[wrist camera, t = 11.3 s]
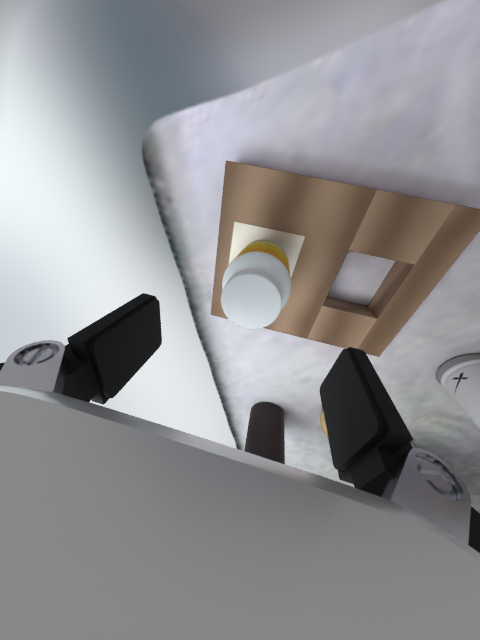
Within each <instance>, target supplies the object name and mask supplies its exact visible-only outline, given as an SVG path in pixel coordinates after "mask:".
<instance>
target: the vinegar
mask: <svg viewBox="0 0 480 640" xmlns="http://www.w3.org/2000/svg"><path fill="white" fill-rule="evenodd" d="M245 452H248V453H251V454H254V455H257V456H260V457H263V458H266V459H269V460H272V461H275V462H279V463H282V464H285V453H284V413H283V411H282V410H281V409H280V408H279V407H278V406H276V405H274V404H271V403H258V404H256V405H254V406H253V407H252V408H251V412H250V419H249V425H248V432H247V438H246V445H245Z"/></svg>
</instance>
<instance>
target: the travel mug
mask: <svg viewBox="0 0 480 640" xmlns="http://www.w3.org/2000/svg"><path fill="white" fill-rule="evenodd" d="M436 379H437V381H438V382H439V383H440V384H441V385H442V387H443V388H444V389H445V390H446V391H447V392H448V393H449V395H450V396H451V397H452V398H453V399H454V400H455V401H456V403H457V404H458V405H459V406H460V407H461V408H462V410H463V411H464V412H465V413H466V414H467V415H468V416H469V418H470V419H471V420H472V421H473V422H474V423H475V424H476V426H477V427H478V428H479V429H480V355H479V354H471V355H463V356H459V357H456V358H453V359H451V360H449V361H447V362H445V363H444V364H443V365H441V366H440V368H439V369H438V370H437V373H436Z"/></svg>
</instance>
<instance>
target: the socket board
mask: <svg viewBox="0 0 480 640" xmlns="http://www.w3.org/2000/svg"><path fill="white" fill-rule="evenodd" d="M479 231H480V209H476V208H471V207H466V206H460V205H455V204H450V203H445V202H440V201H434V200H429V199H424V198H419V197H414V196H408V195H403V194H398V193H393V192H387V191H382V190H377V189H372V188H367V187H361V186H356V185H351V184H346V183H341V182H335V181H330V180H325V179H320V178H315V177H309V176H304V175H299V174H294V173H288V172H283V171H278V170H273V169H268V168H262V167H257V166H252V165H247V164H242V163H236V162H231V161H226V165H225V175H224V186H223V196H222V206H221V216H220V226H219V236H218V247H217V257H216V267H215V277H214V287H213V297H212V308H211V315H214V316H218V317H222V318H226V319H229V318H228V317H227V316H226V315H225V313H224V311H223V309H222V305H221V295H222V291H223V290H222V281H223V276H224V273H225V271H226V269H227V267H228V266H229V264H230V263H231V262H232V261H233V260H234V259H235V258H236V257H237V255H238V254H239V253H240V252H241V251H242V250H243V249H244V248H245V247H246V246H247V245H248V244H250V243H251V242H253V241H256V240H262V239H265V240H271V241H273V242H275V243H277V244H278V245H280V246H281V247H282V249H283V250H284V251H285V253H286V255H287V258H288V262H289V270H290V278H291V293H290V296H289V299H288V301H287V303H286V304H285V306H284V307H283V308H282V309H281V311H280V313H279V315H278V317H277V318H276V320H275V321H274V322H273V323H271V324H270V325H268V326H266V327H263V328H266V329H270V330H274V331H278V332H282V333H286V334H290V335H294V336H298V337H302V338H306V339H310V340H314V341H318V342H322V343H326V344H330V345H334V346H338V347H342V348H346V349H347V348H349V347H353V348H357V349H360V350H363V351H364V352H365V353H366V354H370V355H374V356H378V357H379V356H380V355H381V354H382V352H383V351H384V350H385V349H386V347H387V346H388V345H389V344H390V342H391V341H392V340H393V339H394V337H395V336H396V335H397V334H398V332H399V331H400V330H401V329H402V327H403V326H404V325H405V324H406V322H407V321H408V320H409V319H410V317H411V316H412V315H413V313H414V312H415V311H416V310H417V308H418V307H419V306H420V305H421V303H422V302H423V301H424V300H425V298H426V297H427V296H428V295H429V293H430V292H431V291H432V290H433V288H434V287H435V286H436V285H437V283H438V282H439V281H440V280H441V278H442V277H443V276H444V275H445V273H446V272H447V271H448V270H449V268H450V267H451V266H452V264H453V263H454V262H455V261H456V259H457V258H458V257H459V256H460V254H461V253H462V252H463V251H464V249H465V248H466V247H467V246H468V244H469V243H470V242H471V241H472V239H473V238H474V237H475V236H476V234H477V233H478V232H479ZM348 250H349V251H353V252H358V253H363V254H367V255H372V256H377V257H381V258H386V259H391V260H395V261H396V262H395V263H394V265H393V267H392V268H391V270H390V271H389V273H388V275H387V276H386V278H385V279H384V281H383V283H382V284H381V286H380V287H379V289H378V291H377V292H376V294H375V295H374V297H373V299H372V300H371V302H370V303H369V305H368V307H367V306H363V305H358V304H354V303H350V302H346V301H341V300H337V299H333V298H328V297H327V295H328V293H329V291H330V289H331V287H332V284H333V282H334V280H335V278H336V276H337V274H338V272H339V270H340V267H341V265H342V263H343V261H344V259H345V257H346V255H347V253H348Z"/></svg>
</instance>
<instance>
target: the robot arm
mask: <svg viewBox="0 0 480 640" xmlns="http://www.w3.org/2000/svg"><path fill="white" fill-rule="evenodd" d="M68 342H69V344H68V345H66V346H64V345H63V344H62V343H61V342H58V341H51V340H48V341H40V342H35V343H32V344H29V345H26V346H24V347H21V348H19V349H18V350H16V351H15V352H13V353H12V354H11V355H10V356H9V357H8V359H7V360H6V362H5V363H0V640H480V514H479V513H478V512H477V511H476V510H475V509H474V508H473V507H471V498H470V493H469V491H468V489H467V487H466V485H465V484H464V482H463V481H462V479H461V478H460V477H459V475H458V474H457V473H456V472H455V471H454V470H453V469H452V468H451V467H450V466H449V465H448V464H447V463H446V462H445V461H443V460H442V459H441V458H440V457H438V456H437V455H435V454H434V453H432V452H430V451H428V450H425V449H422V448H418V447H417V448H414V446H413V444H412V442H411V441H412V440H413V438H412V436H411V434H410V432H409V431H408V429H407V427H406V425H405V423H404V422H403V420H402V418H401V416H400V414H399V413H398V411H397V409H396V407H395V405H394V404H393V402H392V400H391V398H390V396H389V395H388V393H387V391H386V389H385V387H384V386H383V384H382V382H381V380H380V378H379V377H378V375H377V373H376V371H375V369H374V368H373V366H372V364H371V362H370V360H369V359H368V357H367V355H366V353H365V352H364V351H363V350H360V349H357V348H353V347H349V348H347V349H343V350H342V352H341V354H340V355H339V357H338V358H337V360H336V362H335V363H334V365H333V367H332V368H331V370H330V372H329V373H328V375H327V376H326V378H325V380H324V381H323V383H322V385H321V387H320V396H321V401H322V407H323V412H324V417H325V423H326V428H327V433H328V439H329V444H330V449H331V454H332V460H333V464H334V467H335V468H336V469H338V473H339V478H340V480H343V481H346V482H349V483H352V484H354V486H355V488H354V487H351V486H348V485H345V484H342V483H339V482H336V481H333V480H330V479H327V478H325V477H322V476H319V475H315V474H312V473H309V472H306V471H303V470H300V469H297V468H294V467H291V466H288V465H285V464H282V463H279V462H275V461H272V460H269V459H266V458H263V457H260V456H257V455H254V454H251V453H248V452H245V451H241V450H238V449H235V448H232V447H229V446H226V445H223V444H220V443H216V442H213V441H210V440H207V439H204V438H200V437H198V436H194V435H191V434H188V433H185V432H182V431H179V430H175V429H172V428H169V427H166V426H163V425H160V424H156V423H153V422H150V421H147V420H144V419H141V418H137V417H134V416H131V415H128V414H125V413H122V412H118V411H115V410H112V409H109V408H105V407H102V406H99V405H95V404H92V403H89V401H90V400H91V399H92V401H94V402H97V403H101V404H105V403H106V402H107V400H108V399H109V398H113V397H114V396H115V395H116V394H117V393H118V392H119V391H120V390H121V389H122V388H123V387H124V386H125V384H126V383H127V382H128V381H129V380H130V379H131V378H132V377H133V376H134V375H135V373H136V372H137V371H138V370H139V369H140V368H141V367H142V366H143V365H144V364H145V362H146V361H147V360H148V359H149V358H150V357H151V356H152V355H153V354H154V352H155V351H156V350H157V349H158V348H159V347H160V345H161V342H162V338H161V322H160V306H159V301H158V300H157V299H156V297H155V296H152V295H148V294H144V293H143V294H141V295H140V296H138V297H136V298H134V299H133V300H131V301H129V302H128V303H126V304H124V305H123V306H121V307H119V308H118V309H116V310H114V311H113V312H111V313H109V314H107V315H106V316H104V317H102V318H101V319H99V320H97V321H96V322H94V323H92V324H91V325H89V326H87V327H86V328H84V329H82V330H81V331H79V332H77V333H76V334H74V335H72V336H71V337H69V338H68Z"/></svg>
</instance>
